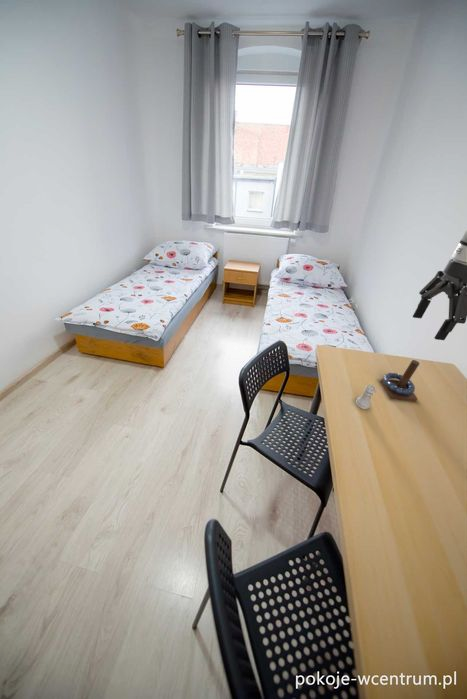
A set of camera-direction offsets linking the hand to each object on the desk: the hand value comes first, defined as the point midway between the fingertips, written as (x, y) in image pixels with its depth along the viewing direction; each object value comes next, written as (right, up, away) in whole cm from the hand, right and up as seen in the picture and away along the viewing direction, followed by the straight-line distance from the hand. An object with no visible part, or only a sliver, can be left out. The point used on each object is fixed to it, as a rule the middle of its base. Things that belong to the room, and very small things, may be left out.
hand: (427, 327), depth 89 cm
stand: (-3, -22, +11) cm, 25 cm away
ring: (-3, -19, +11) cm, 22 cm away
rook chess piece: (-19, -26, +3) cm, 32 cm away
